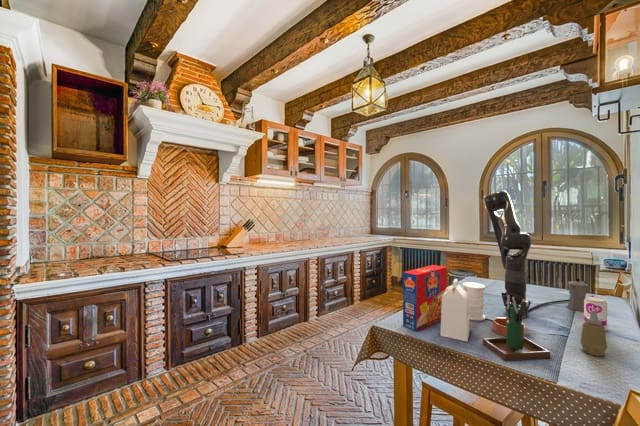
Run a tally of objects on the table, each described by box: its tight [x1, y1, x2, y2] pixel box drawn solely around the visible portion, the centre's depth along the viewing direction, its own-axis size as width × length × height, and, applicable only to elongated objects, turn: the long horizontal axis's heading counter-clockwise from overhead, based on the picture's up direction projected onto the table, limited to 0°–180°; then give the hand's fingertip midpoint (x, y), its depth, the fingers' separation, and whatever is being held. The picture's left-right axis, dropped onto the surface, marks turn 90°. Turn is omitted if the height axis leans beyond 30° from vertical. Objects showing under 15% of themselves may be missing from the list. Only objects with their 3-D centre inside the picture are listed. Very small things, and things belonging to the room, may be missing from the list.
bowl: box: [492, 316, 527, 338], centre depth 138 cm, size 13×13×5 cm
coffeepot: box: [567, 278, 589, 312], centre depth 170 cm, size 15×9×18 cm, turn 113°
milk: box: [439, 278, 471, 342], centre depth 138 cm, size 12×12×26 cm
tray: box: [482, 336, 551, 361], centre depth 121 cm, size 20×14×3 cm
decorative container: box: [462, 281, 486, 321], centre depth 157 cm, size 12×12×18 cm
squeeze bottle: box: [580, 310, 608, 357], centre depth 119 cm, size 8×8×18 cm
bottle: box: [505, 307, 525, 349], centre depth 121 cm, size 6×6×16 cm
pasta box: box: [402, 264, 448, 332], centre depth 152 cm, size 28×8×28 cm, turn 127°
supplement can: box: [583, 296, 608, 331], centre depth 142 cm, size 8×8×15 cm
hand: (514, 319), depth 121 cm, fingers closed on bottle, 3 cm apart
